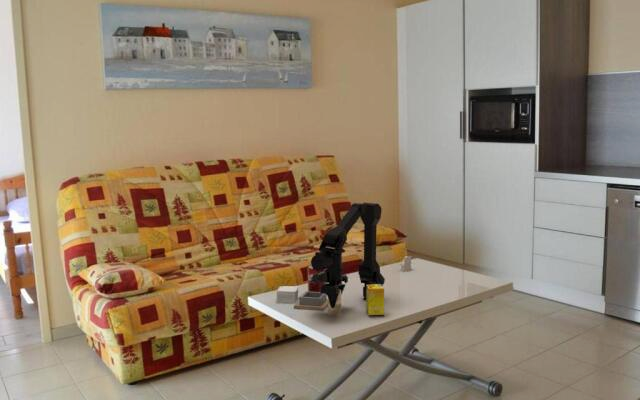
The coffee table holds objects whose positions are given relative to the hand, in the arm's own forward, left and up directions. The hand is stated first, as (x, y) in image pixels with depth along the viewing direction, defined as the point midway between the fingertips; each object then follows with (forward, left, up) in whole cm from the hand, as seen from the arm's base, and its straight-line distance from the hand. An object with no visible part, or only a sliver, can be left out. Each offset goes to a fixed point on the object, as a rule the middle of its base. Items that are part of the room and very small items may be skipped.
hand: (334, 305), depth 226 cm
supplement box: (-15, -3, -3) cm, 16 cm away
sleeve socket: (+11, -8, -3) cm, 14 cm away
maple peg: (0, 0, -3) cm, 3 cm away
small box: (+23, -12, -3) cm, 26 cm away
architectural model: (-17, -72, -4) cm, 74 cm away
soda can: (+14, -23, -3) cm, 27 cm away
